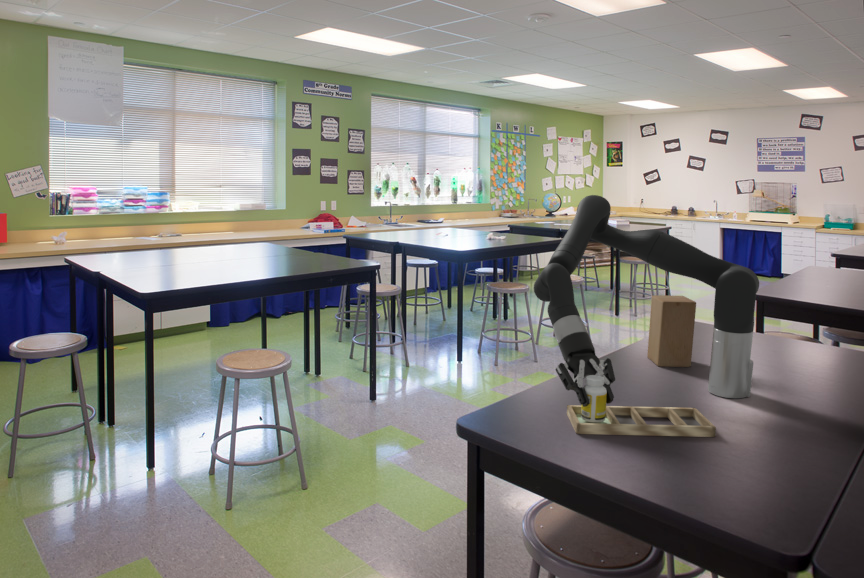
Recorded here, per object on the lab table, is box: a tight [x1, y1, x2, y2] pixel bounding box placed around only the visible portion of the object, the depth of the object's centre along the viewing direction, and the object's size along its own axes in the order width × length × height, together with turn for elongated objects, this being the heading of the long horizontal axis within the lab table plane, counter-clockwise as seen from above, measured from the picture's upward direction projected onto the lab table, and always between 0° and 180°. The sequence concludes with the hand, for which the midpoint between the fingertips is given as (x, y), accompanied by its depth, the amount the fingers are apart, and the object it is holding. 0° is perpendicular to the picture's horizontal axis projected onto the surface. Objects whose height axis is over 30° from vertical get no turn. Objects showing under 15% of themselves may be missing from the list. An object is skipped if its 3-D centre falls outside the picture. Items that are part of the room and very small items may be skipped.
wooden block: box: [646, 294, 697, 368], centre depth 187 cm, size 10×10×20 cm
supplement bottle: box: [580, 374, 607, 423], centre depth 139 cm, size 5×5×10 cm
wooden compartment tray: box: [566, 404, 717, 438], centre depth 140 cm, size 30×12×2 cm, turn 88°
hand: (598, 403), depth 138 cm, fingers open, 5 cm apart
